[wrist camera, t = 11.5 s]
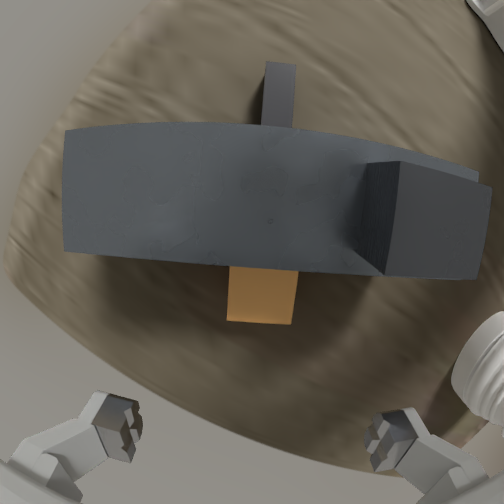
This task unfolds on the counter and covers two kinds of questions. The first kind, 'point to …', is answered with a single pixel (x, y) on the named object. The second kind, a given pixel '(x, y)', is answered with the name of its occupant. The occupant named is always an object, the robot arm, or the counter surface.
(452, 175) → the grey block
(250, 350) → the counter surface
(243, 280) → the plug
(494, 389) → the honey pot
